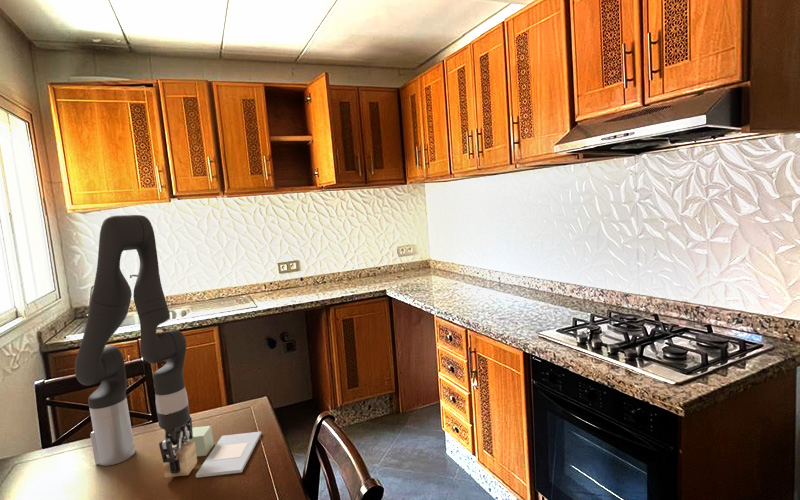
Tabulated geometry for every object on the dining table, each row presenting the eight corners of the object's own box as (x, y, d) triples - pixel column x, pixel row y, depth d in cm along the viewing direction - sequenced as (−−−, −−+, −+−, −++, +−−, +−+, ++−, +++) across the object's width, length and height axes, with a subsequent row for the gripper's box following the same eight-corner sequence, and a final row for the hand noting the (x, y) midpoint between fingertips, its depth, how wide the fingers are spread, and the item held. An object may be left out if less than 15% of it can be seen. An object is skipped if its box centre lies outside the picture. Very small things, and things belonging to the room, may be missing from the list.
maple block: (165, 477, 117) (161, 455, 117) (175, 464, 123) (172, 443, 123) (188, 475, 118) (185, 453, 117) (197, 461, 124) (194, 441, 123)
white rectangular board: (196, 477, 118) (195, 474, 118) (222, 438, 138) (221, 435, 137) (241, 472, 118) (241, 469, 118) (261, 433, 138) (261, 431, 138)
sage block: (185, 457, 128) (182, 438, 128) (193, 446, 134) (190, 427, 134) (206, 455, 129) (203, 435, 128) (213, 444, 135) (211, 425, 134)
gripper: (170, 395, 125) (179, 452, 127) (144, 420, 111) (153, 483, 113) (197, 393, 126) (205, 449, 128) (174, 417, 111) (183, 480, 113)
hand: (181, 465), depth 120 cm, fingers closed on maple block, 6 cm apart
